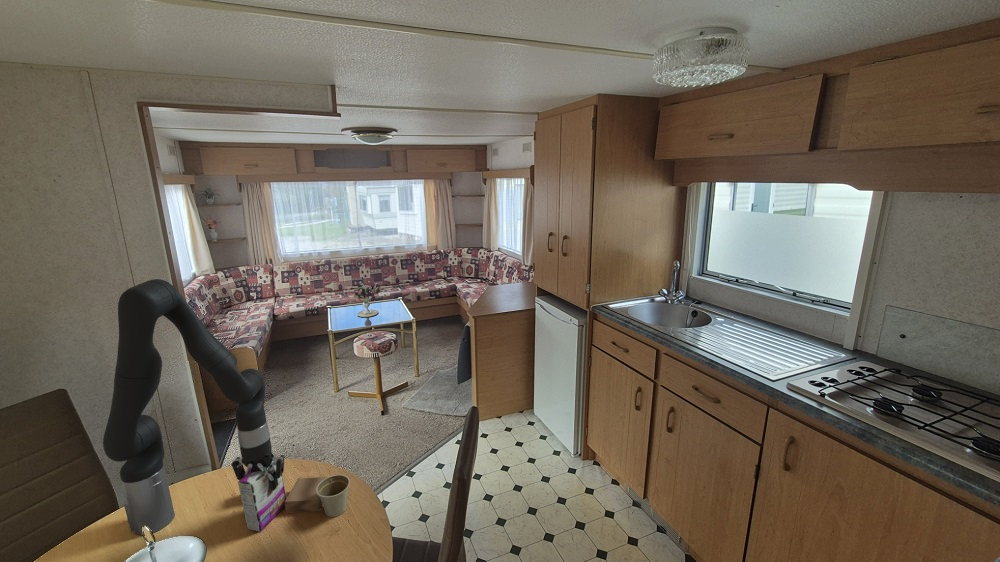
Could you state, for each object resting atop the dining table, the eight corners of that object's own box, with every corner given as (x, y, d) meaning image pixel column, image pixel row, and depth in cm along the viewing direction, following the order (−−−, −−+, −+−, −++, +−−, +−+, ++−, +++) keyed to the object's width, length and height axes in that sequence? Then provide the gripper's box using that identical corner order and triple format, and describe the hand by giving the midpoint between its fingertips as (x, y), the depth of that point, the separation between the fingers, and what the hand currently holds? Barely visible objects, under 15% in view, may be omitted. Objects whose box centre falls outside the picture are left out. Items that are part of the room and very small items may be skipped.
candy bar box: (273, 501, 129) (266, 455, 126) (287, 503, 128) (281, 457, 125) (245, 530, 119) (236, 481, 115) (260, 533, 118) (252, 483, 114)
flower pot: (324, 527, 120) (321, 502, 118) (315, 508, 127) (312, 483, 125) (357, 511, 125) (354, 486, 123) (345, 493, 133) (343, 470, 130)
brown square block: (286, 512, 125) (284, 501, 124) (299, 488, 135) (298, 478, 134) (320, 511, 126) (318, 499, 125) (331, 487, 135) (329, 476, 134)
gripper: (220, 448, 113) (230, 500, 117) (274, 445, 114) (282, 497, 118) (235, 432, 121) (244, 481, 125) (286, 429, 121) (293, 479, 125)
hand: (263, 489), depth 121 cm, fingers closed on candy bar box, 5 cm apart
